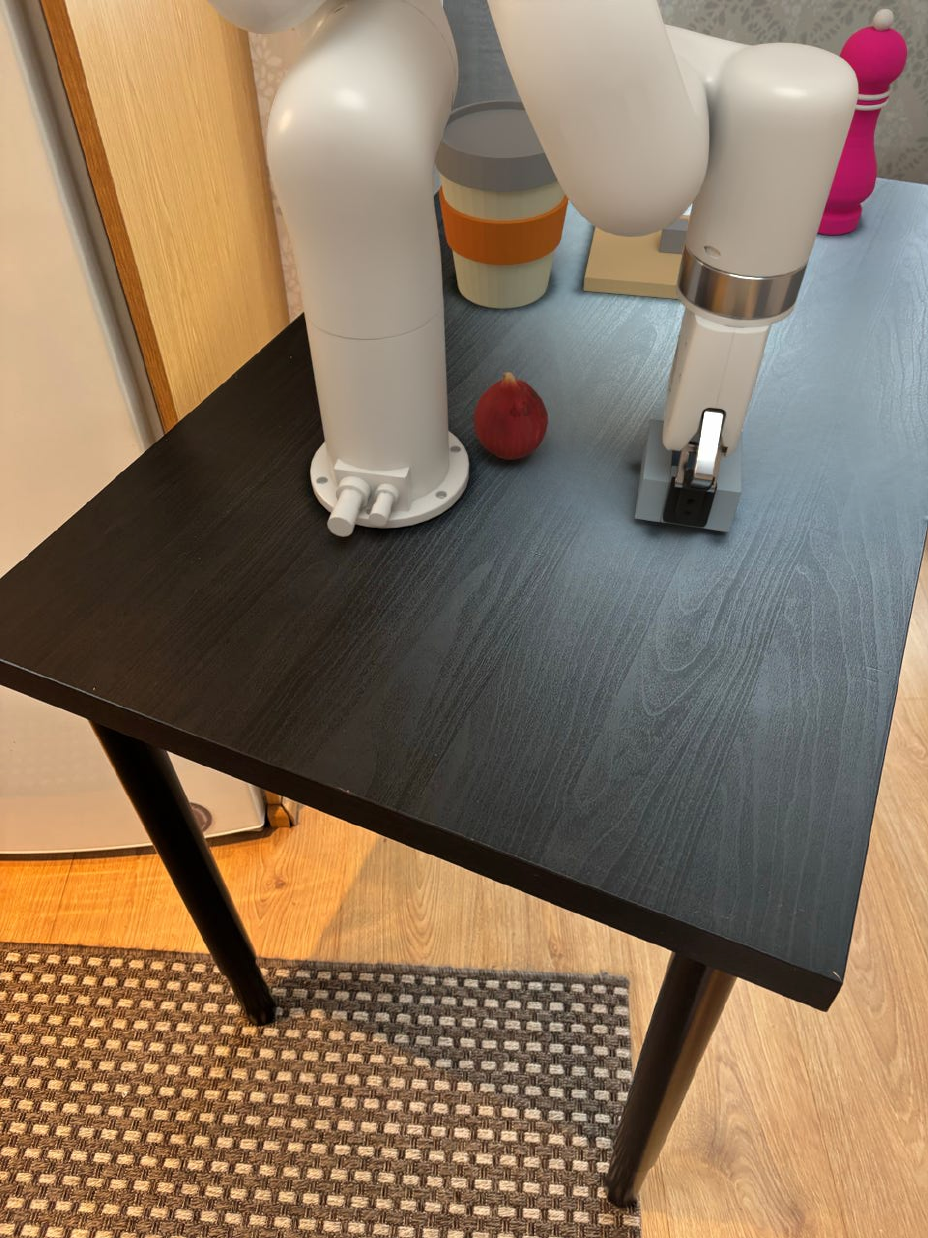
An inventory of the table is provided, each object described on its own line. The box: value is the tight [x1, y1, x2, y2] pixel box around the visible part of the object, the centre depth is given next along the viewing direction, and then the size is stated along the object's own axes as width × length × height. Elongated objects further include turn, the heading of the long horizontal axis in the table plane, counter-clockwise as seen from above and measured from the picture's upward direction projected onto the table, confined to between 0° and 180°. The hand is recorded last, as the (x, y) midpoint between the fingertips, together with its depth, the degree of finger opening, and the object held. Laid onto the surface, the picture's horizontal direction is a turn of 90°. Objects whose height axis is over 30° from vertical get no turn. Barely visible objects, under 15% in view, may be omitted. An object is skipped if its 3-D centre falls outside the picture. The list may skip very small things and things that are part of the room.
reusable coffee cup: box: [434, 99, 569, 309], centre depth 90 cm, size 13×13×15 cm
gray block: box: [634, 418, 743, 533], centre depth 73 cm, size 7×7×4 cm
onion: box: [472, 371, 549, 461], centre depth 76 cm, size 6×6×8 cm
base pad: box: [582, 214, 690, 300], centre depth 97 cm, size 14×16×4 cm
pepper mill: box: [817, 8, 908, 236], centre depth 95 cm, size 7×7×20 cm
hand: (686, 486), depth 74 cm, fingers closed on gray block, 7 cm apart
